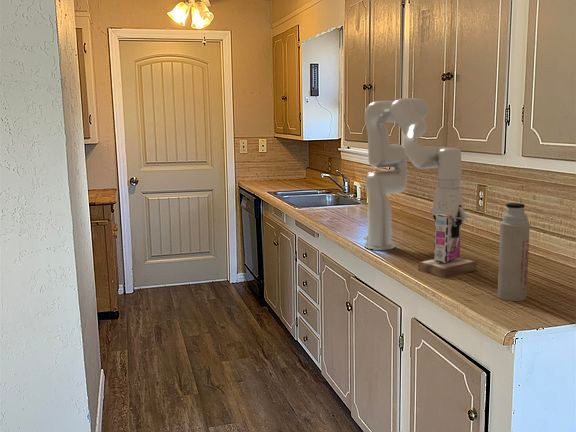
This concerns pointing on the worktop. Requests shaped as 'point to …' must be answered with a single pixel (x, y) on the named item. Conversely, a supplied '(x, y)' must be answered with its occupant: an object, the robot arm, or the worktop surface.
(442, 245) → the candy bar box
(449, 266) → the base
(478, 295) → the worktop surface
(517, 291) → the thermos bottle
